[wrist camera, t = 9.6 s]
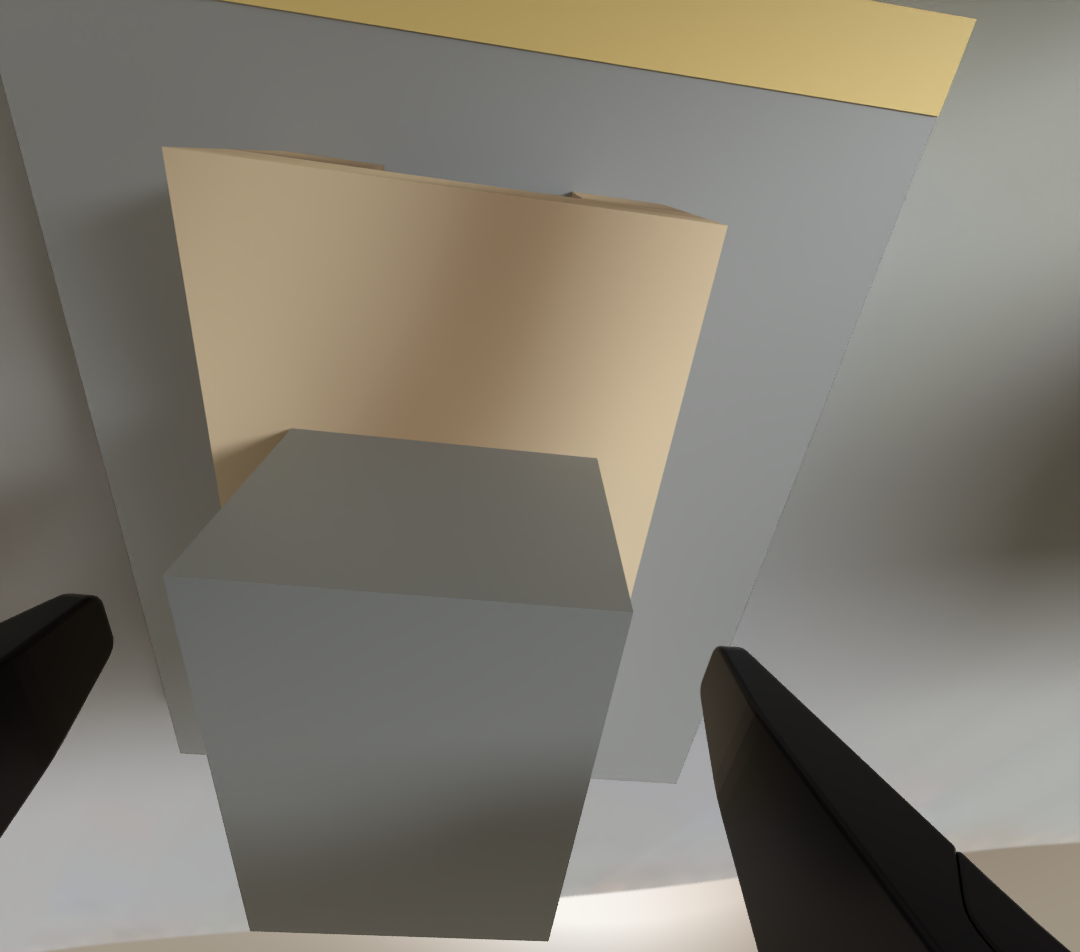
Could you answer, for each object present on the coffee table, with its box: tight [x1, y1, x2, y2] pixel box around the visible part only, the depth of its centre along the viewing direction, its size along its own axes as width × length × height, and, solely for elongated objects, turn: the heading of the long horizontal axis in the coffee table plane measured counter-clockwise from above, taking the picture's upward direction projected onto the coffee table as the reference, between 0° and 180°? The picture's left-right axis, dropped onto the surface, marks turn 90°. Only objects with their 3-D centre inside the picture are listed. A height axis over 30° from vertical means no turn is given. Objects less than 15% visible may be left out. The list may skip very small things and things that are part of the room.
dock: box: [0, 0, 977, 784], centre depth 13 cm, size 14×18×2 cm
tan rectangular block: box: [162, 147, 728, 598], centre depth 11 cm, size 6×12×4 cm, turn 173°
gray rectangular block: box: [162, 428, 633, 941], centre depth 8 cm, size 4×6×3 cm, turn 173°
